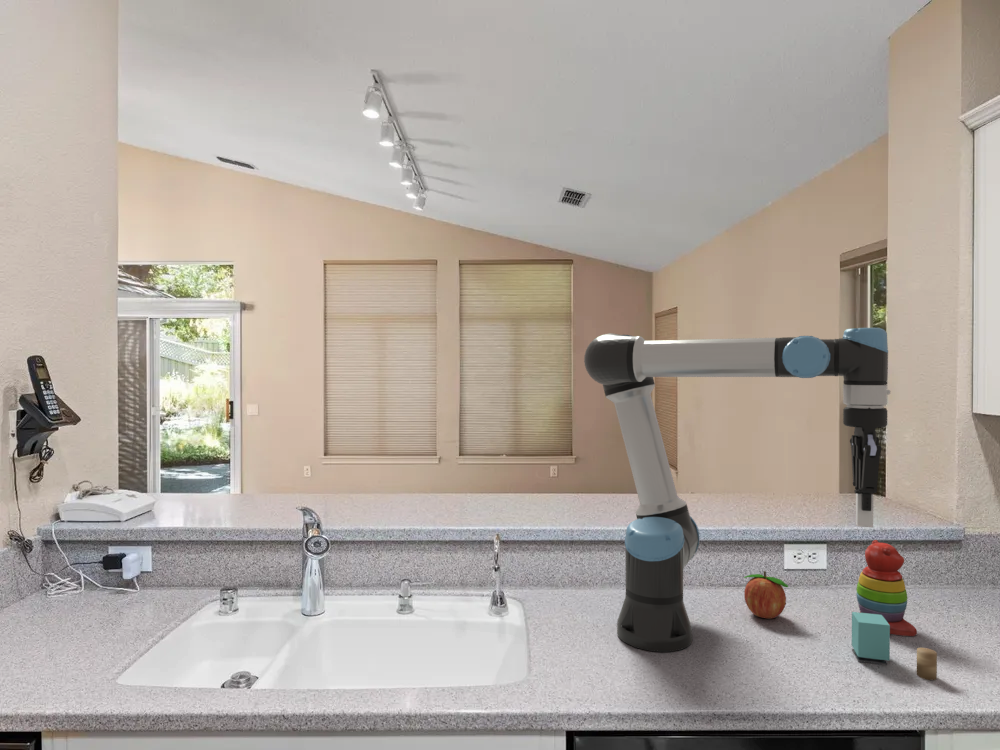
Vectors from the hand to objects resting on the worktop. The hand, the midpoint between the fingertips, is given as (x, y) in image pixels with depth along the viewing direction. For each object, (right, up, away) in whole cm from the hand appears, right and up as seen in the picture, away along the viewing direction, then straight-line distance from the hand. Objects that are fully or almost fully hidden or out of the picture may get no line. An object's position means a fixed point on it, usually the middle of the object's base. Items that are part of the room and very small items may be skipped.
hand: (864, 525), depth 123 cm
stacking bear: (+11, -25, +12) cm, 29 cm away
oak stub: (+5, -25, -11) cm, 27 cm away
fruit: (-13, -24, +17) cm, 32 cm away
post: (-1, -25, -3) cm, 25 cm away
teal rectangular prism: (-1, -24, -3) cm, 24 cm away
